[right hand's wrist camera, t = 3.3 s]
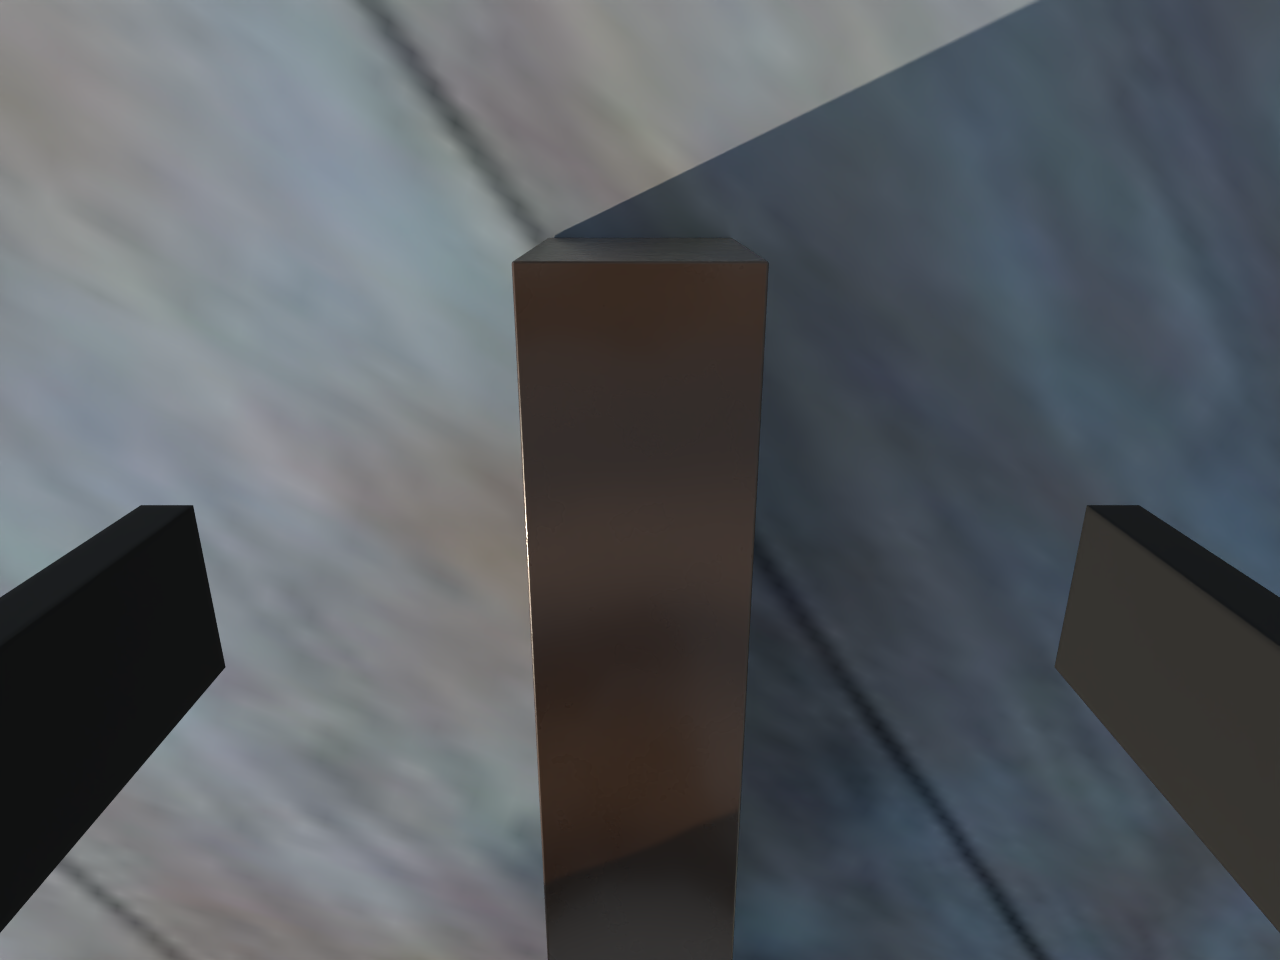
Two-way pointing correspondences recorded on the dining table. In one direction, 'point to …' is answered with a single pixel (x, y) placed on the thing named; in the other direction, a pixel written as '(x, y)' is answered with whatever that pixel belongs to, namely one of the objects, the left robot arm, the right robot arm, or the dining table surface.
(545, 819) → the walnut beam
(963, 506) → the dining table surface
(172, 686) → the right robot arm
